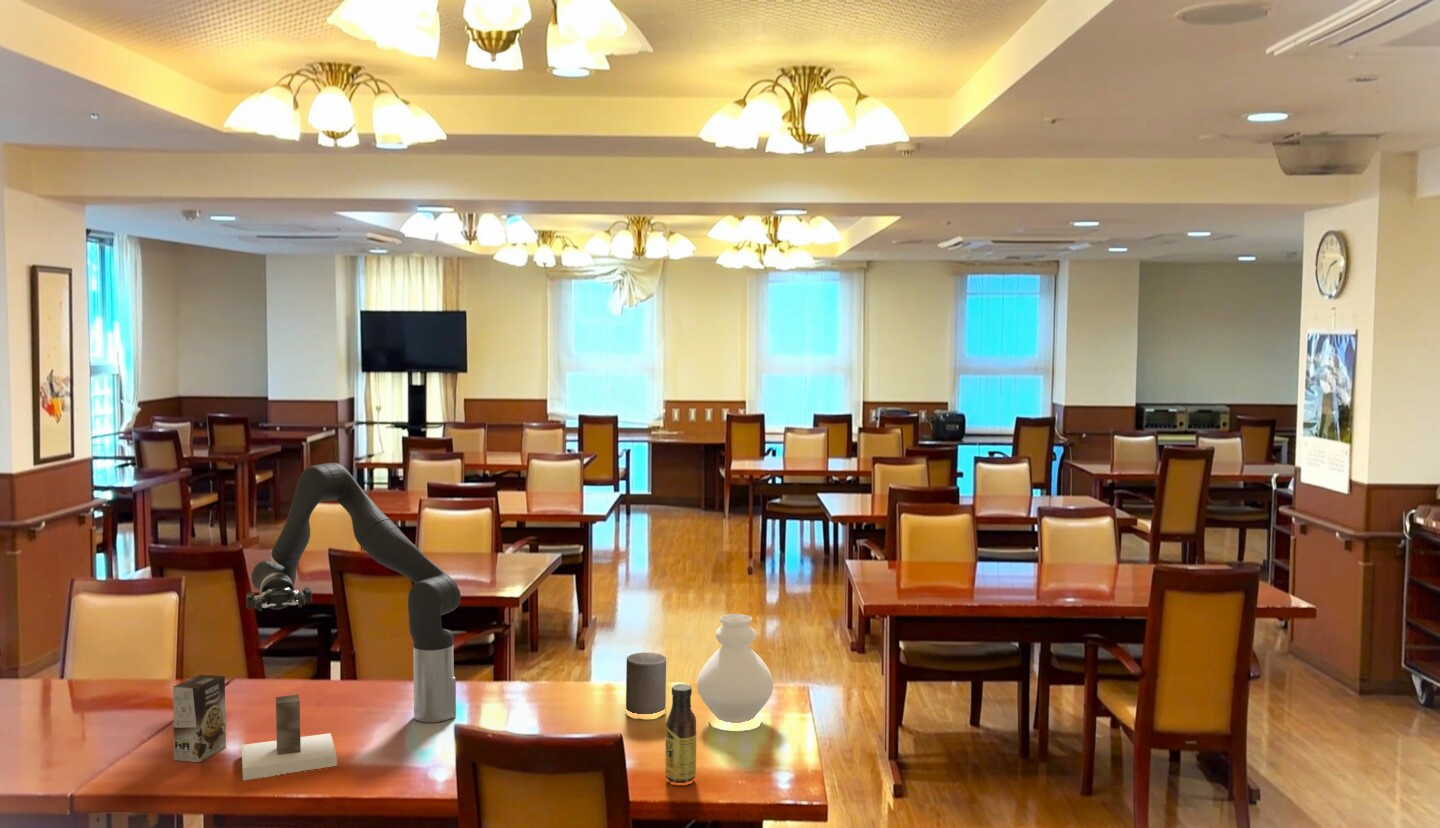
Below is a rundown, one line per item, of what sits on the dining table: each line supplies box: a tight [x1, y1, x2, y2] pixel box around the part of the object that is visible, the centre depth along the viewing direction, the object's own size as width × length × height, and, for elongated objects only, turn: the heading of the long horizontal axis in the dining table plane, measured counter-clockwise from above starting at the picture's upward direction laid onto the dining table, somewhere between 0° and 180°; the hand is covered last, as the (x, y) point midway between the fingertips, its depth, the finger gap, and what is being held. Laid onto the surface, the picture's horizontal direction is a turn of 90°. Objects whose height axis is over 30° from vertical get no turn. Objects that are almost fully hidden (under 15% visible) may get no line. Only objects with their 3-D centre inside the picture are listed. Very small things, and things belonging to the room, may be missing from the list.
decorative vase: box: [696, 613, 774, 723], centre depth 255 cm, size 18×18×25 cm
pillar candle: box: [625, 652, 667, 714], centre depth 261 cm, size 10×10×15 cm
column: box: [275, 694, 301, 755], centre depth 229 cm, size 4×4×11 cm
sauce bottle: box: [665, 683, 697, 783], centre depth 220 cm, size 7×6×20 cm
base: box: [241, 732, 338, 781], centre depth 230 cm, size 18×14×2 cm
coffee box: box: [172, 674, 227, 763], centre depth 233 cm, size 9×6×16 cm
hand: (280, 604), depth 249 cm, fingers open, 8 cm apart
